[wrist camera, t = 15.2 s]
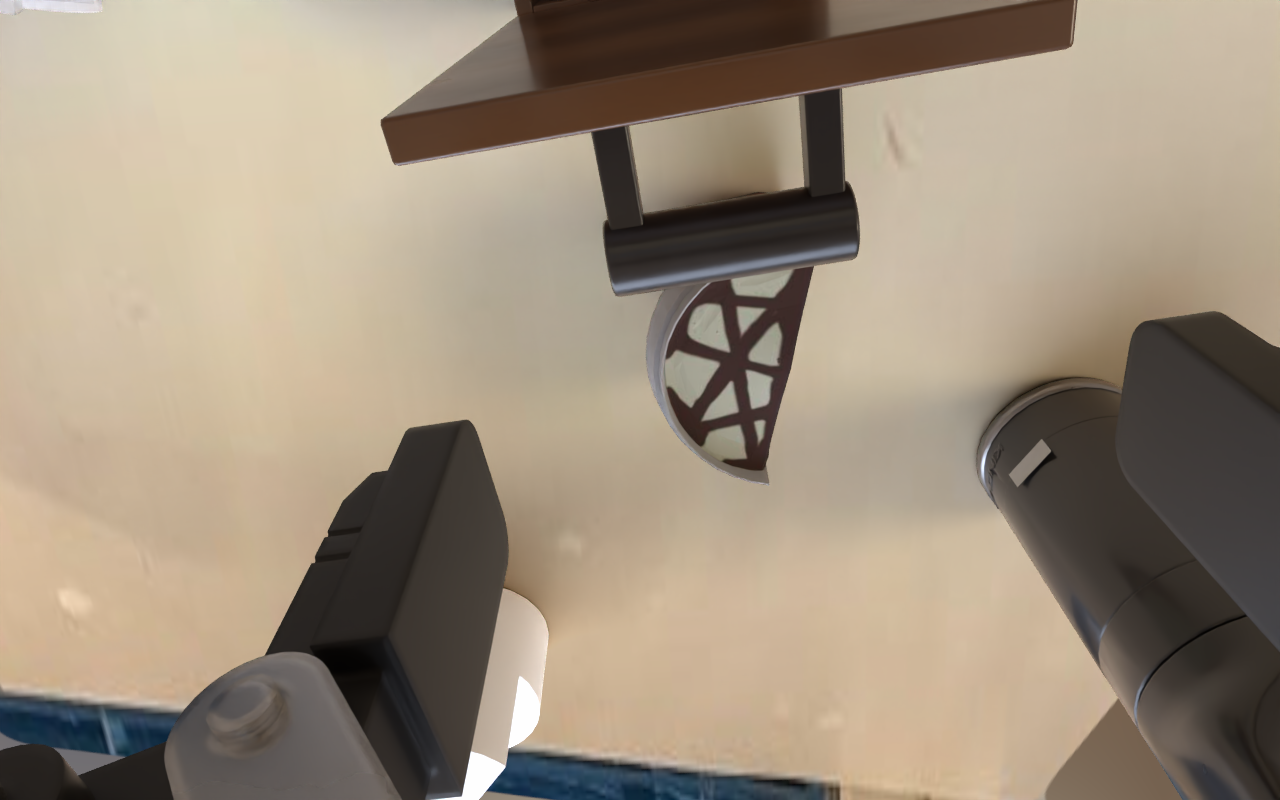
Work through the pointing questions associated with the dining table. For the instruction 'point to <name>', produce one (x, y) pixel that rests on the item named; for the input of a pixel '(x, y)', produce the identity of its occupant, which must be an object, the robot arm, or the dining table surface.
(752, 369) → the food container
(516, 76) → the chest lid
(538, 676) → the base with upright slab
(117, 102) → the dining table surface
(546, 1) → the chest
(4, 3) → the spiral staircase
